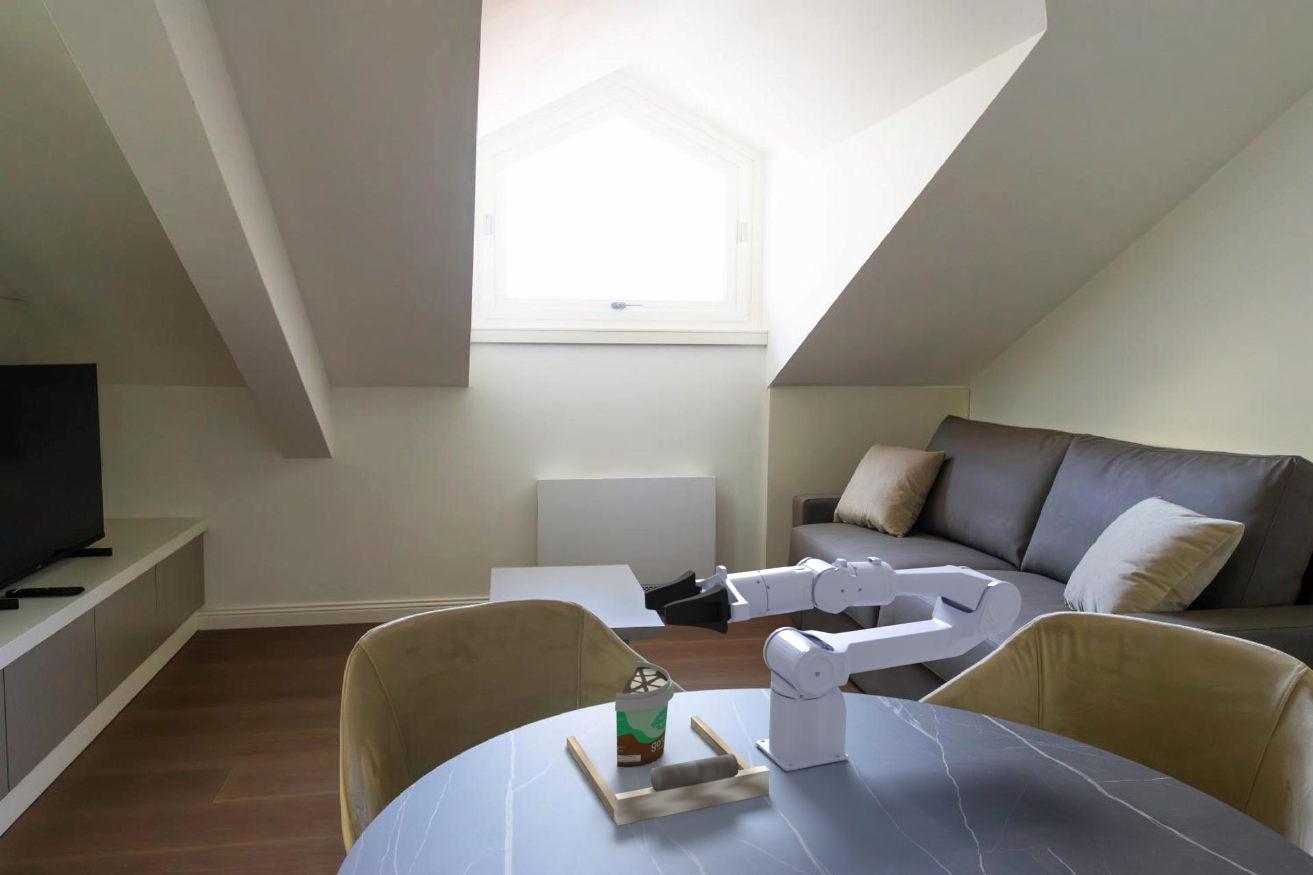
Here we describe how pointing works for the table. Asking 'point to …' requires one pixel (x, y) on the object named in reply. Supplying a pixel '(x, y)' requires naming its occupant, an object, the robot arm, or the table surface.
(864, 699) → the table surface
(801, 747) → the robot arm
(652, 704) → the food container
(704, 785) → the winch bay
